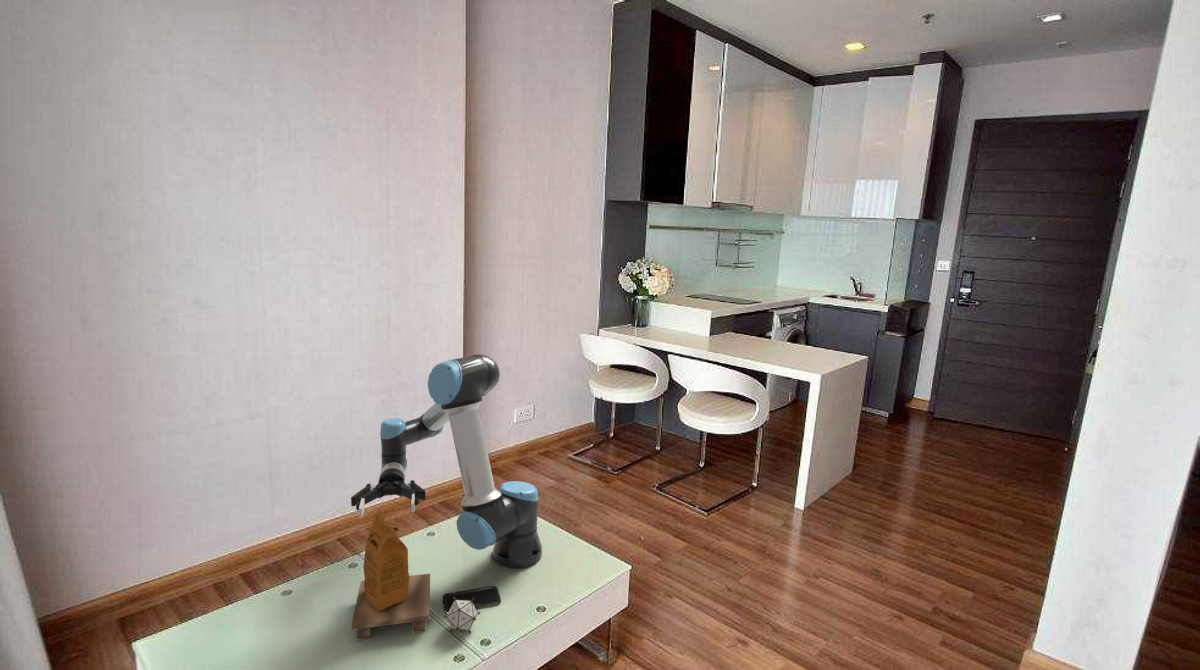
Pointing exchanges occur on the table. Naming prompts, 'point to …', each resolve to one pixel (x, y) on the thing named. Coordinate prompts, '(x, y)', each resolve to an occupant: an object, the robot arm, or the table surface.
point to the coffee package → (385, 565)
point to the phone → (480, 595)
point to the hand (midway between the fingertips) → (386, 510)
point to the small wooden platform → (394, 609)
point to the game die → (461, 615)
